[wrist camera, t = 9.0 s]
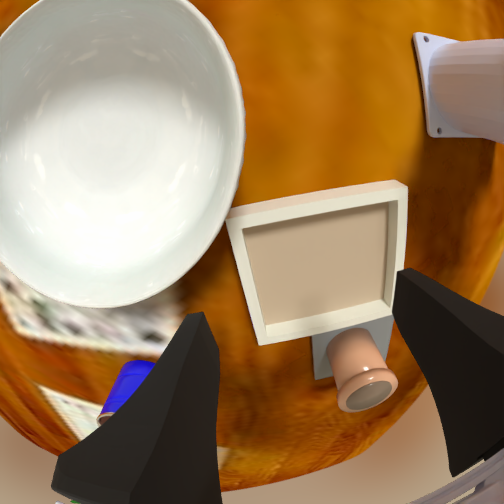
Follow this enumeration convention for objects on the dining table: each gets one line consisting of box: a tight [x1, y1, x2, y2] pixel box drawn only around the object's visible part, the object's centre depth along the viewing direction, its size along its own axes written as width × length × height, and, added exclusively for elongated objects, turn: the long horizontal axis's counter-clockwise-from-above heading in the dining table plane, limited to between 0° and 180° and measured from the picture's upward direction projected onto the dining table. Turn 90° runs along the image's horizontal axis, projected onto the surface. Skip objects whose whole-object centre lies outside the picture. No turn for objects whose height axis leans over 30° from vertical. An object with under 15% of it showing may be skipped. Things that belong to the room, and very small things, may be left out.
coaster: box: [311, 314, 394, 380], centre depth 25 cm, size 8×8×1 cm
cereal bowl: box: [0, 0, 246, 309], centre depth 12 cm, size 17×17×7 cm
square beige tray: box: [225, 180, 408, 346], centre depth 20 cm, size 12×11×2 cm
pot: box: [326, 328, 398, 412], centre depth 22 cm, size 5×5×6 cm
